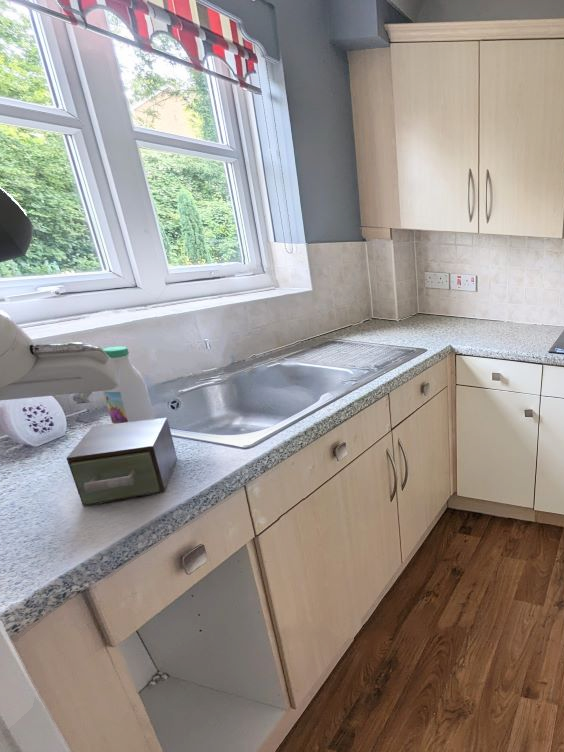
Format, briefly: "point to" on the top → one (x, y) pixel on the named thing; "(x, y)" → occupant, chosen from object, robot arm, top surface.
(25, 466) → the top surface
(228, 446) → the top surface
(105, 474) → the drawer
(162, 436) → the cabinet
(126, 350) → the milk bottle
